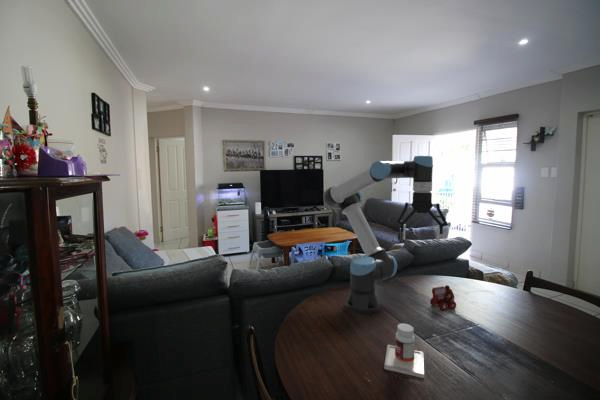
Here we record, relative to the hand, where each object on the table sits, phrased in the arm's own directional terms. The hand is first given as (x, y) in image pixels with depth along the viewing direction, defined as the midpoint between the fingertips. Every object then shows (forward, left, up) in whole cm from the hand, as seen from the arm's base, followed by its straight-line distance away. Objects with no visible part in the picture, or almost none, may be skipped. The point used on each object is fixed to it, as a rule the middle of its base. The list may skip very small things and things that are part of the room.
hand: (420, 240), depth 123 cm
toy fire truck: (+11, +13, -35) cm, 39 cm away
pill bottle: (-5, -35, -34) cm, 49 cm away
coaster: (-5, -35, -35) cm, 50 cm away
